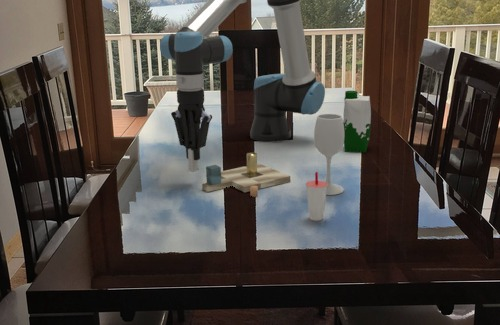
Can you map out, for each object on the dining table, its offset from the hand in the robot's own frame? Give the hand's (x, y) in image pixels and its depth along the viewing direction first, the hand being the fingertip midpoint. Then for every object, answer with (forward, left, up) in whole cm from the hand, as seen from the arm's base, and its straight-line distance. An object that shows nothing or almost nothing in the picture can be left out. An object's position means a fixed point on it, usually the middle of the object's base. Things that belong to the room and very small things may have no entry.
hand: (193, 170), depth 177 cm
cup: (+41, +12, -5) cm, 43 cm away
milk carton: (+1, +63, -5) cm, 63 cm away
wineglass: (+27, +28, -5) cm, 39 cm away
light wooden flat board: (+7, +12, -4) cm, 14 cm away
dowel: (+18, +8, -4) cm, 21 cm away
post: (+7, +16, -4) cm, 18 cm away
